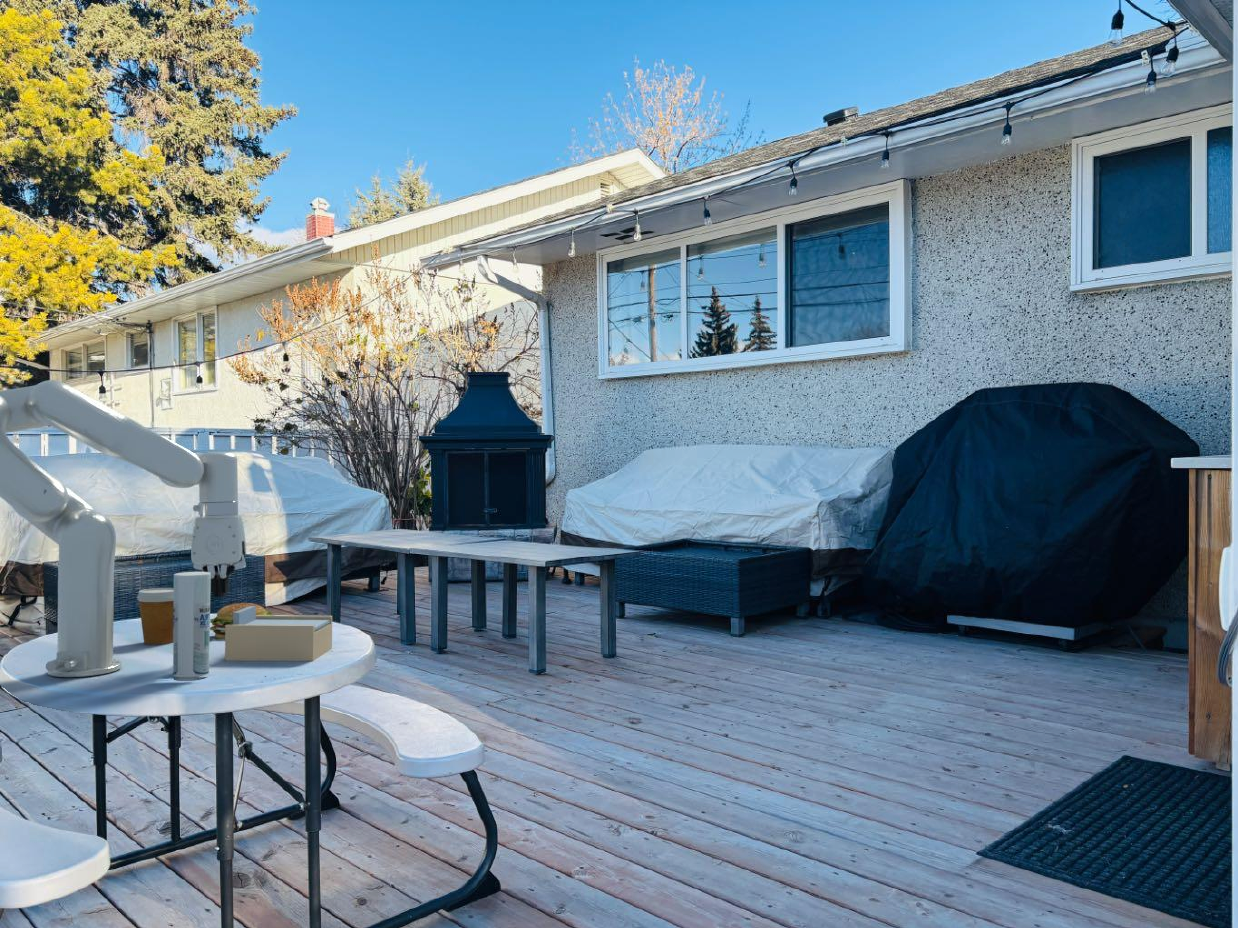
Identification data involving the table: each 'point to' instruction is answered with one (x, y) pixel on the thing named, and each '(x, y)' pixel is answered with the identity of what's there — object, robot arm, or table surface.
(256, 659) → the mailer box
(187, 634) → the spray can
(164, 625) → the disposable coffee cup
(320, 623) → the lid
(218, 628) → the food
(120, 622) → the table surface
